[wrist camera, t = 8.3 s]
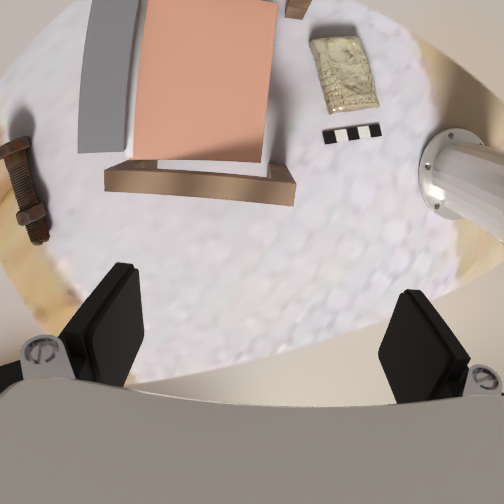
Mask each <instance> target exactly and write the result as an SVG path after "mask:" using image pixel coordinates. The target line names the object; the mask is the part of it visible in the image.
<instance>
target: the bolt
mask: <svg viewBox="0 0 504 504" xmlns="http://www.w3.org/2000/svg"><path fill="white" fill-rule="evenodd" d="M29 147H31V143H30V139H29V137H28V136H25V137H21V138H18V139H15V140H13V141H10V142H8V143H6V144H4V145H2V146H0V160H1V159H4V161H5V165H6V168H7V170H8V173H9V175H10V177H11V178H10V179H11V182H12V183H11V184H13V185H12V186H13V189H14V190H13V191H14V193H15V195H16V196H15V197H16V200H17V202H18V204H19V205H18V206H19V209H20V211H18V212H17V214H16V218H17V221H18V224H19V225H21V226H24V225H25V226H26V229H27V230H26V231H28V232H27V233H29V234H28V235H29V237H30V240H31V242H32V243H33V245H42V244H43V242H47V241H48V240H49V237H50V235H49V234H50V233H49V231H48V229H47V227H46V222H45V220H44V218H43V217H44V216H45V215H46V213H47V210H46V207H45V204H44V202H43V201H40V202H38V200H37V199H38V198H37V196H36V193H35V192H36V191H35V189H34V187H33V186H34V185H32V184H33V182H32V180H31V179H32V178H30V177H31V176H30V174H31V173H29V172H30V171H29V169H28V168H29V167H27V166H28V164H27V163H28V162H27V155H26V151H25V149H26V148H29Z"/></svg>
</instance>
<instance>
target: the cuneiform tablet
mask: <svg viewBox="0 0 504 504" xmlns="http://www.w3.org/2000/svg"><path fill="white" fill-rule="evenodd" d="M309 47H310V49H311V53H312V54H313V57H314V60H315V62H316V66H317V70H318V74H319V75H318V76H319V80H320V83H321V88H322V91H323V94H324V100H325V102H326V106H327V110H328V113H329V115H331V114H333V113H338V112H350V111H357V110H362V109H368V108H378V107H379V106H380V105H379V101H378V98H377V96H376V90H375V85H374V80H373V77H372V74H371V71H370V67H369V63H368V60H367V58H366V55H365V53H364V50H363V48H362V44H361V39H360V37H359V36H340V37H324V38H317V39H312V41H310V43H309ZM378 136H382V134H381V130H380V126H379V124H378V125H370V126H363V127H355V128H348V129H342V130H335V131H329V132H323V138H324V142H325V144H331V143H337V142H343V141H350V140H356V139H363V138H370V137H378Z"/></svg>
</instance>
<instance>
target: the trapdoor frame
mask: <svg viewBox="0 0 504 504" xmlns="http://www.w3.org/2000/svg"><path fill="white" fill-rule="evenodd" d="M311 1H312V0H287V3H286V11H285V18H293V19H300V20H302V19H303V17H304V15H305V13H306V11H307V9H308V7H309V5H310V3H311ZM104 185H105V191H108V192H128V193H145V194H161V195H175V196H189V197H201V198H213V199H225V200H235V201H246V202H256V203H266V204H275V205H284V206H293V205H294V198H295V191H296V182H295V181H294V179H293V177H292V175H291V174H290V172H289V170H288V168H287V167H286V165H279V164H270V163H269V165H268V173H267V177H258V176H248V175H238V174H226V173H214V172H201V171H186V170H169V169H157V160H127V161H125V162H122V163H120V164H118V165H115V166H113V167H110V168H108V169H106V170H104Z"/></svg>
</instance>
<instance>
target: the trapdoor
mask: <svg viewBox="0 0 504 504" xmlns="http://www.w3.org/2000/svg"><path fill="white" fill-rule="evenodd" d="M277 9H278V3H273V2H267V1H262V0H92V5H91V10H90V16H89V21H88V27H87V33H86V40H85V47H84V55H83V64H82V73H81V84H80V98H79V117H78V153H97V152H123V151H124V153H123V157H124V158H129V160H214V161H237V162H255V163H261V155H262V146H263V137H264V128H265V119H266V110H267V100H268V91H269V82H270V73H271V64H272V55H273V46H274V37H275V28H276V18H277Z"/></svg>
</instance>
